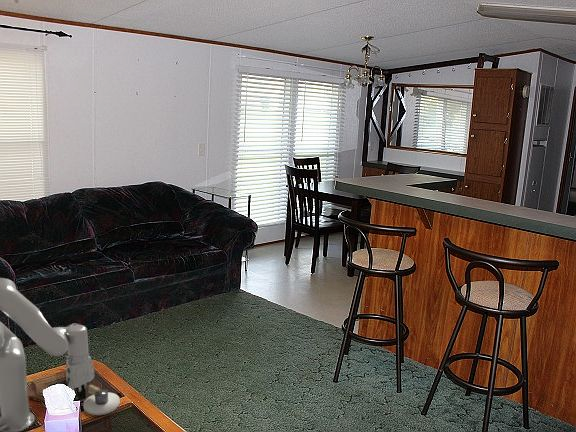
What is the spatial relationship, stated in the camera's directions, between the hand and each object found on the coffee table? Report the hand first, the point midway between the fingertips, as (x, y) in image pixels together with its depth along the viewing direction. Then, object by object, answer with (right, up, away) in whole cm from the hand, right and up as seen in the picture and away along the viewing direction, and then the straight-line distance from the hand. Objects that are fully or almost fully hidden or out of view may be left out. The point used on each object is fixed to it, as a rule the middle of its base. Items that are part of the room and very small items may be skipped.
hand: (81, 397), depth 219 cm
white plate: (+7, -4, +3) cm, 9 cm away
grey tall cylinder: (-10, +1, +22) cm, 25 cm away
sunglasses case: (-18, -3, +8) cm, 20 cm away
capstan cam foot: (+5, -2, +4) cm, 7 cm away
